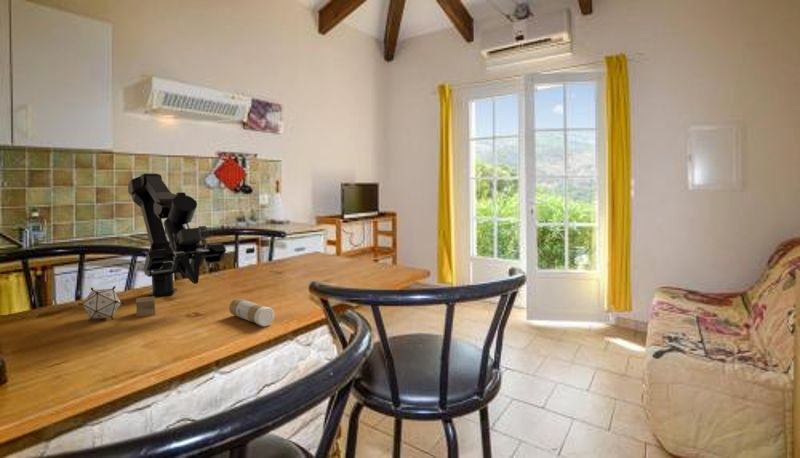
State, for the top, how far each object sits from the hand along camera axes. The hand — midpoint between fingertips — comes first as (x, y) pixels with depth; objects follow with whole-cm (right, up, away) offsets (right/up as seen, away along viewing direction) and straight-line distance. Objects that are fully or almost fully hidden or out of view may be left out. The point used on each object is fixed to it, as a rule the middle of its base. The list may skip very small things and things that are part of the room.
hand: (196, 282), depth 106 cm
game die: (-22, -9, -3) cm, 24 cm away
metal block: (-14, -8, +2) cm, 16 cm away
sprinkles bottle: (+10, -6, +2) cm, 11 cm away
